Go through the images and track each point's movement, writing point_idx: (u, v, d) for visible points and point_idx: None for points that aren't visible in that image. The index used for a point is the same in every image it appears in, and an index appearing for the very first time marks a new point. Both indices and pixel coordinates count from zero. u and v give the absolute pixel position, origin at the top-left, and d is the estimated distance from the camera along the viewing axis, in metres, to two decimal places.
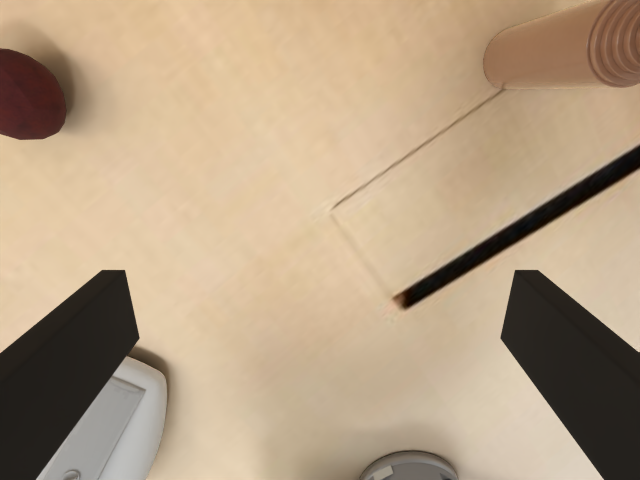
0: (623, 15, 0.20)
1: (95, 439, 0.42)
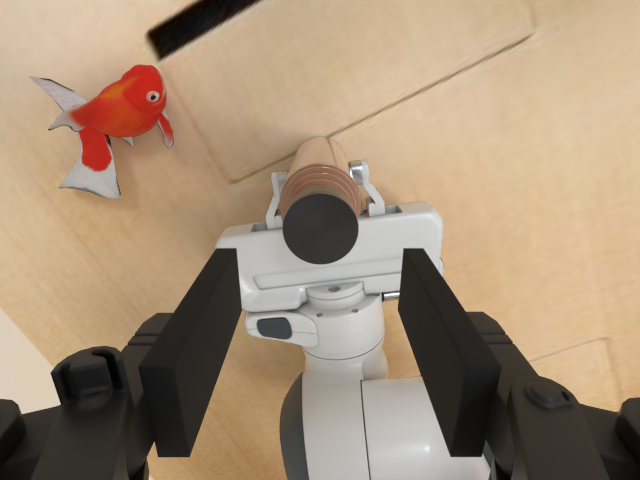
0: None
1: None
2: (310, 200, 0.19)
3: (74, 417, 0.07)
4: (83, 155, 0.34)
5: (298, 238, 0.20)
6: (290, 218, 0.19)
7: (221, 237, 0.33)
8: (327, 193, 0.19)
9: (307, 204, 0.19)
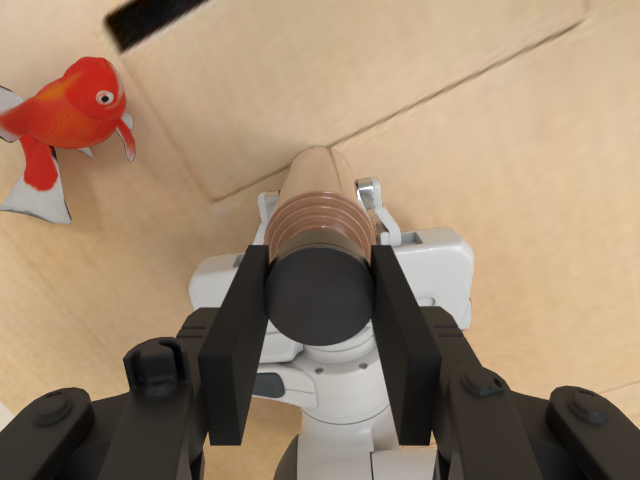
0: None
1: None
2: (304, 257, 0.12)
3: (142, 403, 0.07)
4: (25, 170, 0.27)
5: (286, 310, 0.13)
6: (274, 283, 0.13)
7: (196, 274, 0.26)
8: (330, 246, 0.12)
9: (299, 263, 0.13)
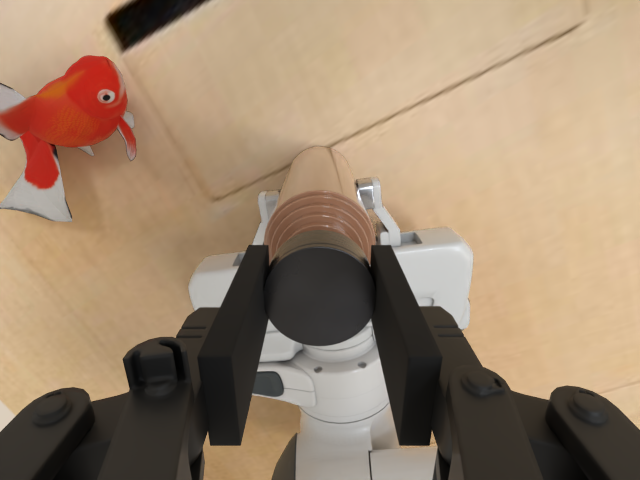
0: None
1: None
2: (280, 322, 0.13)
3: (142, 403, 0.07)
4: (26, 168, 0.27)
5: (341, 323, 0.14)
6: (314, 339, 0.14)
7: (196, 272, 0.26)
8: (264, 302, 0.13)
9: (287, 324, 0.14)
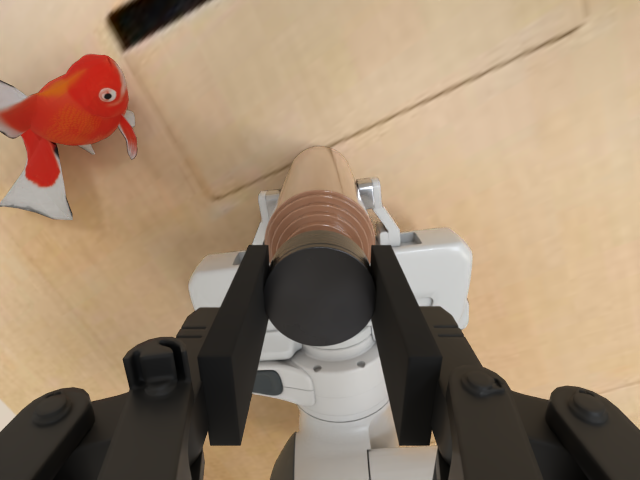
0: None
1: None
2: (355, 326, 0.14)
3: (141, 403, 0.07)
4: (27, 166, 0.27)
5: (342, 273, 0.13)
6: (368, 293, 0.13)
7: (196, 271, 0.26)
8: (339, 341, 0.14)
9: (356, 320, 0.13)
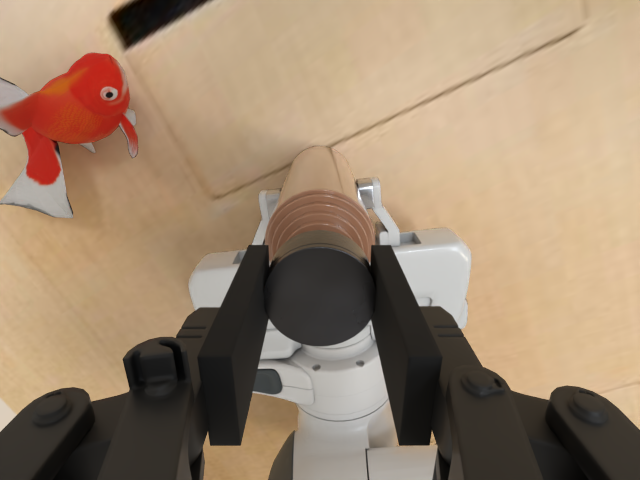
0: None
1: None
2: (341, 259, 0.13)
3: (142, 403, 0.07)
4: (28, 164, 0.27)
5: (286, 288, 0.13)
6: (298, 259, 0.13)
7: (196, 270, 0.26)
8: (366, 267, 0.13)
9: (333, 261, 0.13)
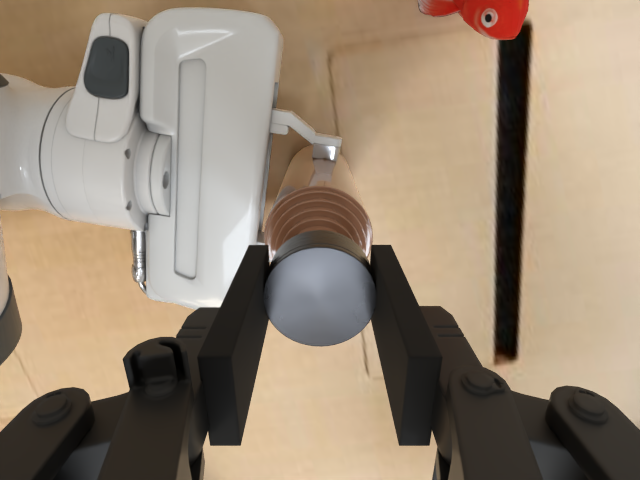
0: None
1: None
2: (341, 259, 0.13)
3: (142, 403, 0.07)
4: None
5: (286, 288, 0.13)
6: (298, 259, 0.13)
7: (278, 34, 0.21)
8: (366, 267, 0.13)
9: (333, 260, 0.13)
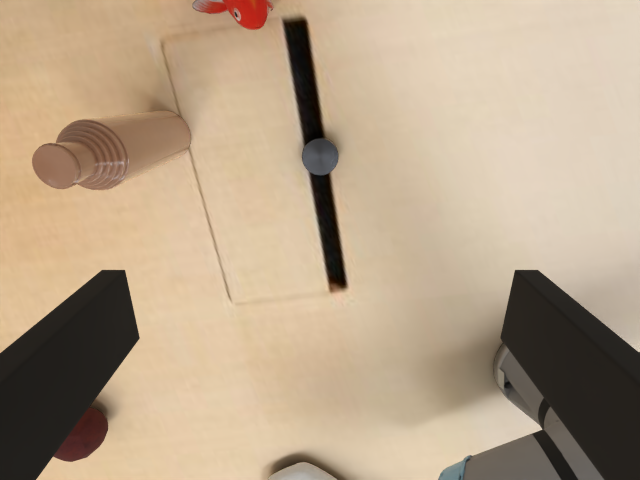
0: None
1: None
2: (326, 142, 0.41)
3: None
4: None
5: (309, 153, 0.41)
6: (313, 142, 0.41)
7: None
8: (334, 145, 0.41)
9: (324, 143, 0.41)
